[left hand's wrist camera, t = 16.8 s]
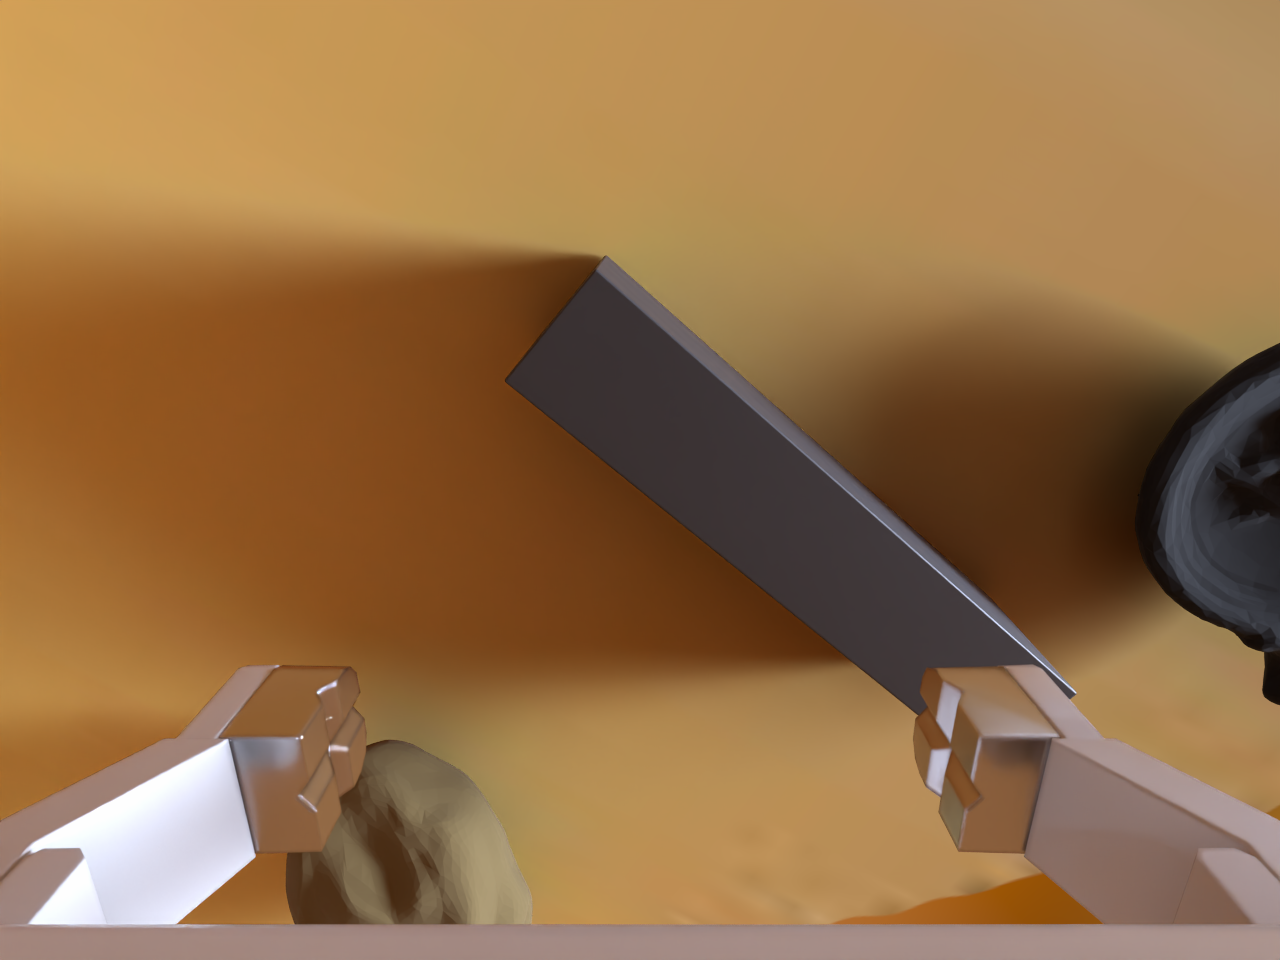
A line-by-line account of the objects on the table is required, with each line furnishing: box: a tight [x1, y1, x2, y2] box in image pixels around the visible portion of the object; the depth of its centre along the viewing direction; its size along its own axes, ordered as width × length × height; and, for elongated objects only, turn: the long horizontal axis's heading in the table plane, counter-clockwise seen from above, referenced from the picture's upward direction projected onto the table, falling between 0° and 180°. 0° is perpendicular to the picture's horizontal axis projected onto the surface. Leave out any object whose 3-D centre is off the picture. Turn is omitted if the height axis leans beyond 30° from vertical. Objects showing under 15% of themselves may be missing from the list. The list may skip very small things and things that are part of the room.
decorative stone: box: [286, 740, 532, 924], centre depth 39 cm, size 17×11×10 cm, turn 19°
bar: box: [505, 256, 1076, 715], centre depth 32 cm, size 26×5×8 cm, turn 49°
